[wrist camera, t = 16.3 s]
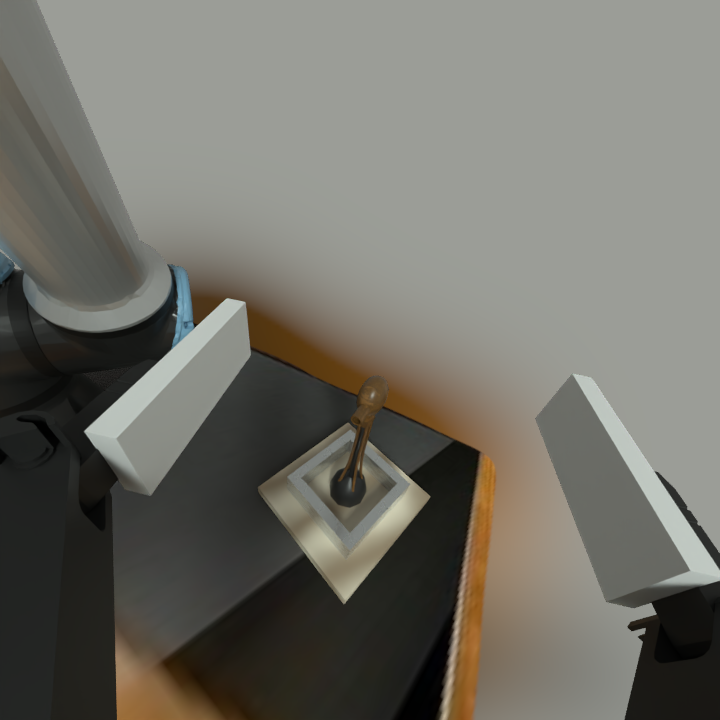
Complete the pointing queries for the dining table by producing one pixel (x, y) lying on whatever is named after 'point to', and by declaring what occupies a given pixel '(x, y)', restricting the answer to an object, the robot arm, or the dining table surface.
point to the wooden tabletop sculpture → (359, 444)
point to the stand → (341, 518)
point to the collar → (321, 513)
